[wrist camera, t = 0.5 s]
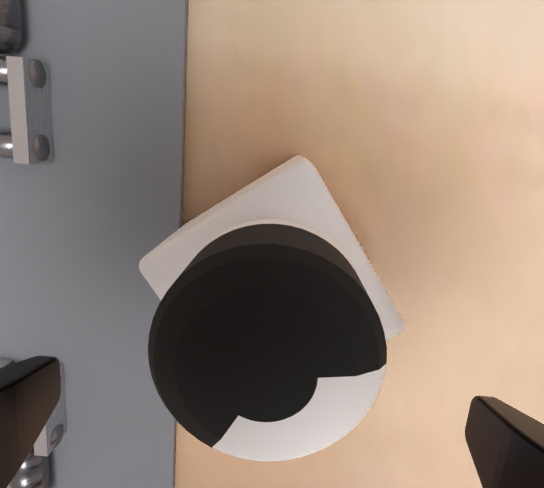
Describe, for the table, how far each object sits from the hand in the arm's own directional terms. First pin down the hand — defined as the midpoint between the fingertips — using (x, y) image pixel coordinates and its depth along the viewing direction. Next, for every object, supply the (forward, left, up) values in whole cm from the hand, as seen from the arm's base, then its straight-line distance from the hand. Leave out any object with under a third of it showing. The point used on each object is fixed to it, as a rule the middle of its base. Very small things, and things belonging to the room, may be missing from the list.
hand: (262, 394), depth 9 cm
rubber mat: (-2, +13, -13) cm, 18 cm away
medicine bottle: (0, 0, -13) cm, 13 cm away
